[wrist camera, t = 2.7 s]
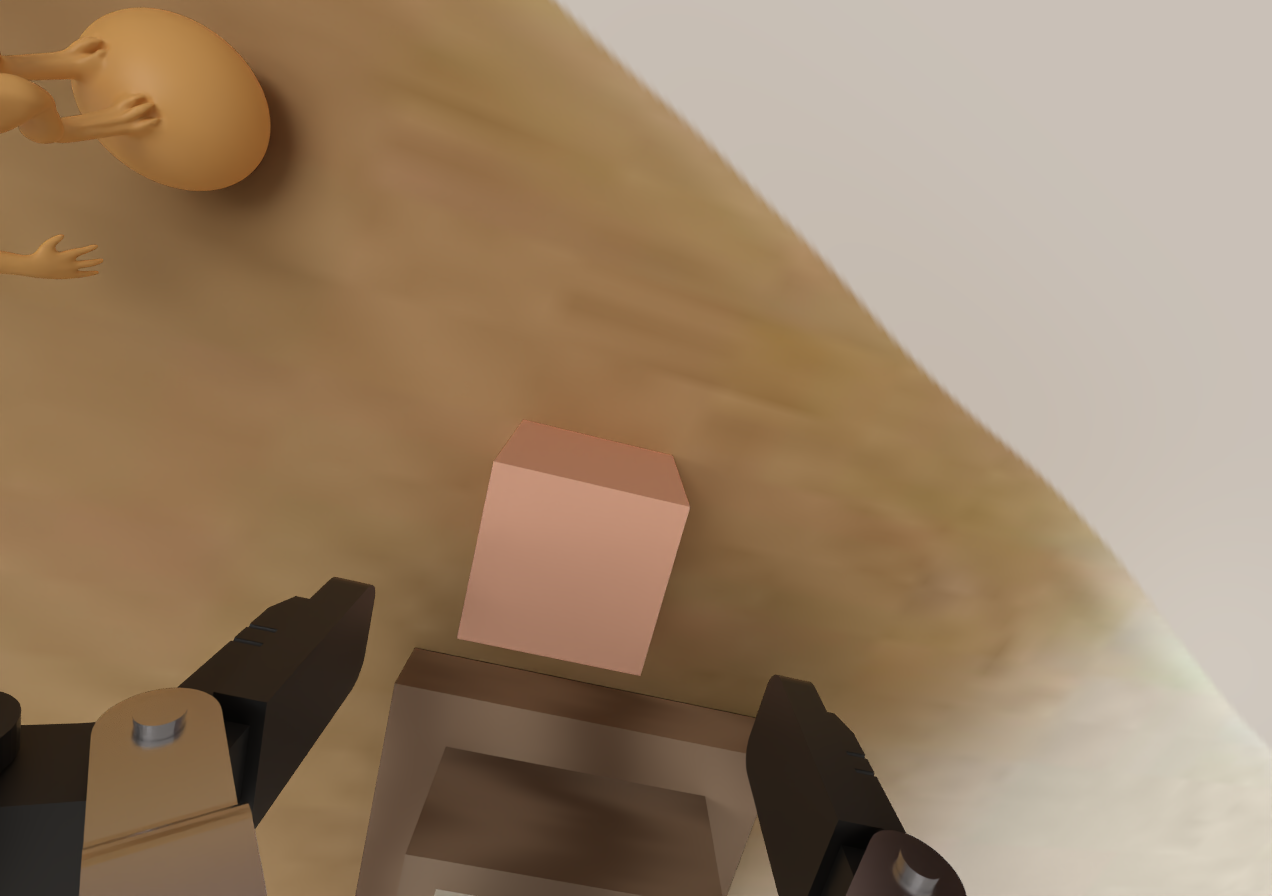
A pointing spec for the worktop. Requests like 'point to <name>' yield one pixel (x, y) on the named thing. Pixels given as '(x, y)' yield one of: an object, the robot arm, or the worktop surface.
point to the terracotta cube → (574, 548)
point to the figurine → (140, 110)
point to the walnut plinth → (552, 789)
